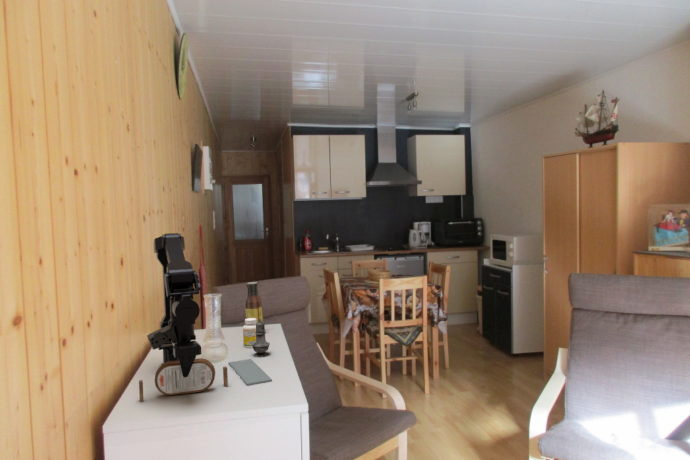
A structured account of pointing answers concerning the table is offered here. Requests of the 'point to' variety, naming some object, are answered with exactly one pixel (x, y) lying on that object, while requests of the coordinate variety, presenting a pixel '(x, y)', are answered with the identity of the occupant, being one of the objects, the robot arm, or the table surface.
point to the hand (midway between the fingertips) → (184, 375)
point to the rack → (225, 379)
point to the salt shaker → (260, 341)
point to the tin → (174, 383)
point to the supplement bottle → (249, 332)
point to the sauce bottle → (253, 302)
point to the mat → (250, 372)
